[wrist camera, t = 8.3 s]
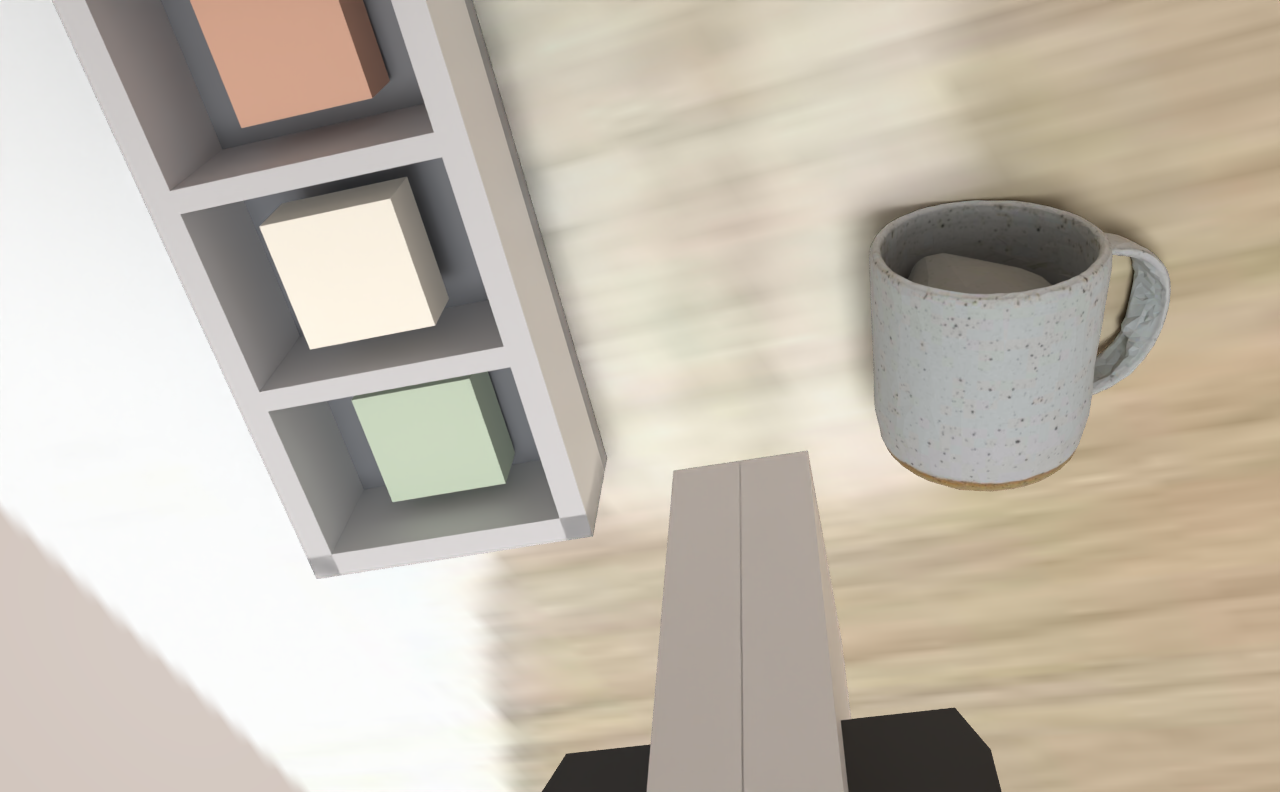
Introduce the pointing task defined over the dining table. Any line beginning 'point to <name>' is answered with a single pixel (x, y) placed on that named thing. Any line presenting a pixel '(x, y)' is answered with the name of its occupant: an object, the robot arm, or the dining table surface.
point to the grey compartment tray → (331, 376)
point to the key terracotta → (291, 55)
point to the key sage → (437, 436)
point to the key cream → (356, 263)
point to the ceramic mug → (999, 337)
